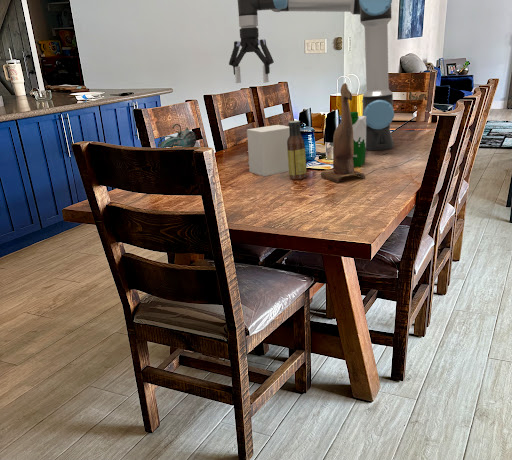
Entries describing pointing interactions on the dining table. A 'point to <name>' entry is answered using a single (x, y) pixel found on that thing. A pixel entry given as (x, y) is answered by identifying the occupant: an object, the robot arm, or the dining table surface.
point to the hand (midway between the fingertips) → (252, 82)
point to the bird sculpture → (343, 143)
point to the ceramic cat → (179, 139)
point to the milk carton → (359, 138)
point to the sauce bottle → (296, 152)
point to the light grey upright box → (268, 149)
